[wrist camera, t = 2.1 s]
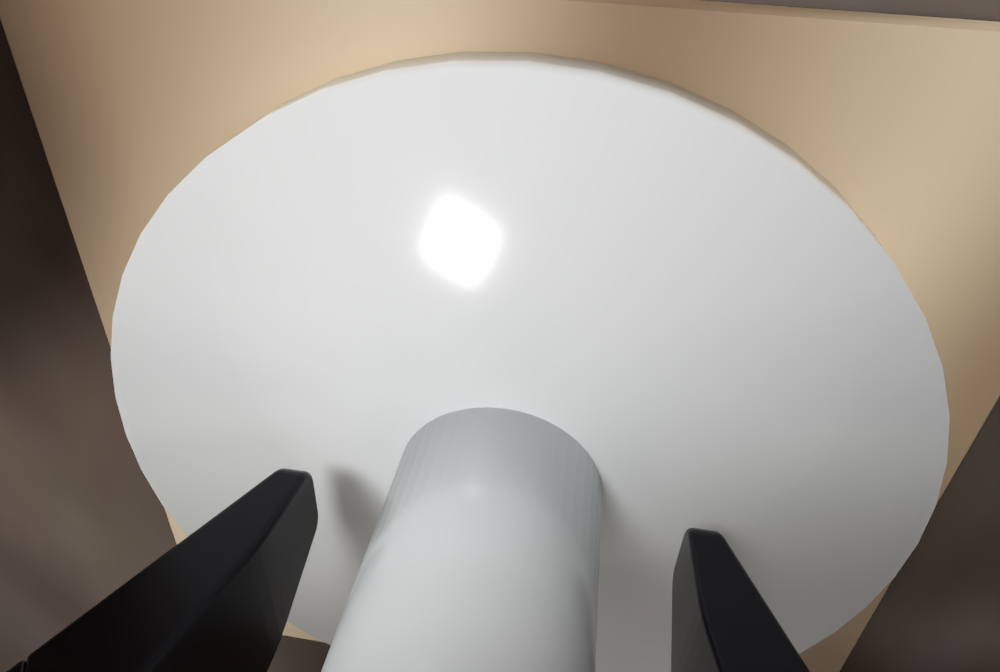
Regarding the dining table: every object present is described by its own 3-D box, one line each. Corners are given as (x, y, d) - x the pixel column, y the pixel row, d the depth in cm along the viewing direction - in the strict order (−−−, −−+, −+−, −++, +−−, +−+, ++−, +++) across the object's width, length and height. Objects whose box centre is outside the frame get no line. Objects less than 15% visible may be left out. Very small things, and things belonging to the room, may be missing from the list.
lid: (1110, 94, 7) (1991, 524, 2) (790, 703, 13) (871, 1121, 9) (35, 14, 8) (-701, 207, 3) (222, 611, 14) (46, 941, 10)
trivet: (1160, 33, 7) (1203, 46, 6) (802, 693, 14) (808, 724, 13) (19, -49, 8) (-21, -43, 7) (216, 596, 15) (202, 621, 14)
